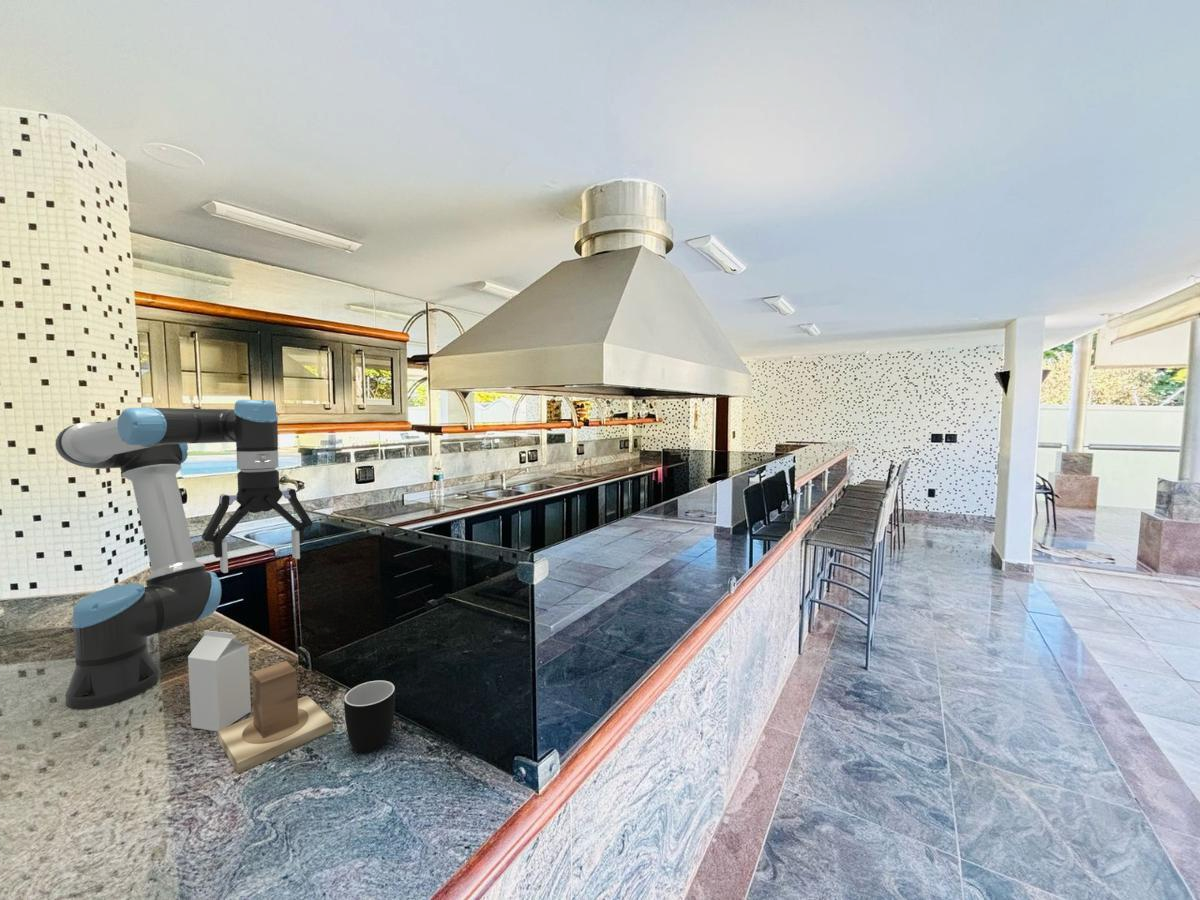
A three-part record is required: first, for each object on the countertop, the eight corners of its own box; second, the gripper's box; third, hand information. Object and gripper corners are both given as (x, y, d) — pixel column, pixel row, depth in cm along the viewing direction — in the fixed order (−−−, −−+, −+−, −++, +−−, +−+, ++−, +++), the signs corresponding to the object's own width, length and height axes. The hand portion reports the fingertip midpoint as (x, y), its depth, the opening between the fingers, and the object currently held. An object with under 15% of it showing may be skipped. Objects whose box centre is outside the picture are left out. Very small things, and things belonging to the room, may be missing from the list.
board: (217, 740, 95) (217, 729, 95) (307, 703, 107) (307, 694, 107) (238, 773, 86) (237, 762, 86) (333, 730, 98) (333, 719, 98)
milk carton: (219, 732, 97) (215, 641, 96) (190, 728, 98) (186, 637, 97) (251, 712, 104) (248, 626, 103) (224, 708, 105) (220, 623, 104)
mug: (405, 737, 96) (404, 687, 96) (364, 764, 88) (362, 711, 88) (368, 718, 102) (367, 671, 102) (326, 742, 94) (324, 692, 94)
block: (253, 725, 96) (251, 672, 95) (288, 711, 101) (286, 660, 100) (263, 738, 92) (261, 682, 91) (298, 723, 97) (296, 670, 96)
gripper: (189, 476, 95) (194, 582, 96) (325, 467, 114) (328, 555, 115) (181, 473, 99) (185, 574, 101) (313, 465, 118) (316, 550, 120)
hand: (261, 564), depth 108 cm, fingers open, 13 cm apart
